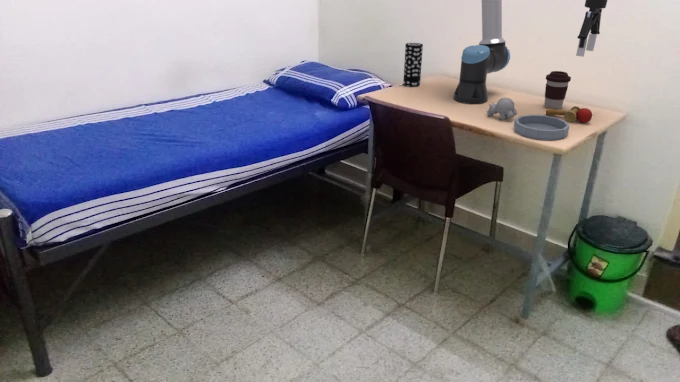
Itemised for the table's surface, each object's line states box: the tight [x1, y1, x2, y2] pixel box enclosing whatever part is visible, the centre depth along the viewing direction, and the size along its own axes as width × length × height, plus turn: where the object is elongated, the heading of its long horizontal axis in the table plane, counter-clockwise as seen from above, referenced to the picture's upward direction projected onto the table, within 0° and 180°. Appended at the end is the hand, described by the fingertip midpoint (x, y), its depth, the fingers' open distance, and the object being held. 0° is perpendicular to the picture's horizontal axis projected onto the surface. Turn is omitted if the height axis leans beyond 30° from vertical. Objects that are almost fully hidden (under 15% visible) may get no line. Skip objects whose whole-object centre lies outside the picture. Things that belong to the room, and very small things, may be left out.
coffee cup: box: [543, 70, 572, 110], centre depth 225 cm, size 10×10×15 cm
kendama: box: [545, 106, 593, 124], centre depth 212 cm, size 8×6×18 cm
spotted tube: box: [402, 42, 424, 88], centre depth 258 cm, size 8×8×20 cm
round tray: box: [513, 114, 571, 141], centre depth 198 cm, size 19×19×4 cm
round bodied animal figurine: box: [485, 97, 518, 121], centre depth 213 cm, size 7×12×8 cm, turn 50°
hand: (584, 53), depth 208 cm, fingers open, 13 cm apart
